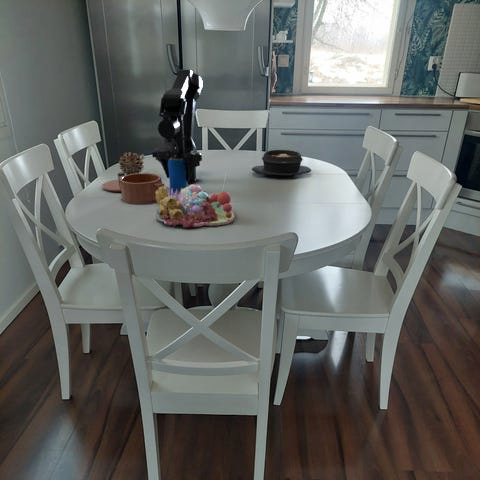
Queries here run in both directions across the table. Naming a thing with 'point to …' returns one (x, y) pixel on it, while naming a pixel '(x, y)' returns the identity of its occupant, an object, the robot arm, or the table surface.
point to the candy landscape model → (193, 207)
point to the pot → (140, 188)
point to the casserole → (281, 164)
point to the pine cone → (131, 163)
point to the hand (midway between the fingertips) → (178, 179)
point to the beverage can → (177, 174)
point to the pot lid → (113, 184)
